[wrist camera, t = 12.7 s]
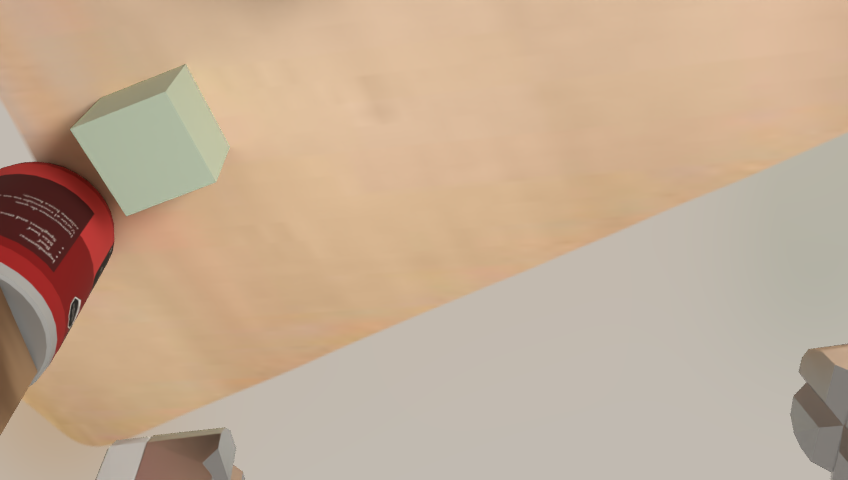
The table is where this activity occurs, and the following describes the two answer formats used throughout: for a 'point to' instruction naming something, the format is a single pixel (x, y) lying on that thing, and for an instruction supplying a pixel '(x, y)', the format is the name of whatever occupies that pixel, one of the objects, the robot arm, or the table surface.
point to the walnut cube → (12, 364)
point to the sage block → (153, 140)
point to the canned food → (50, 251)
